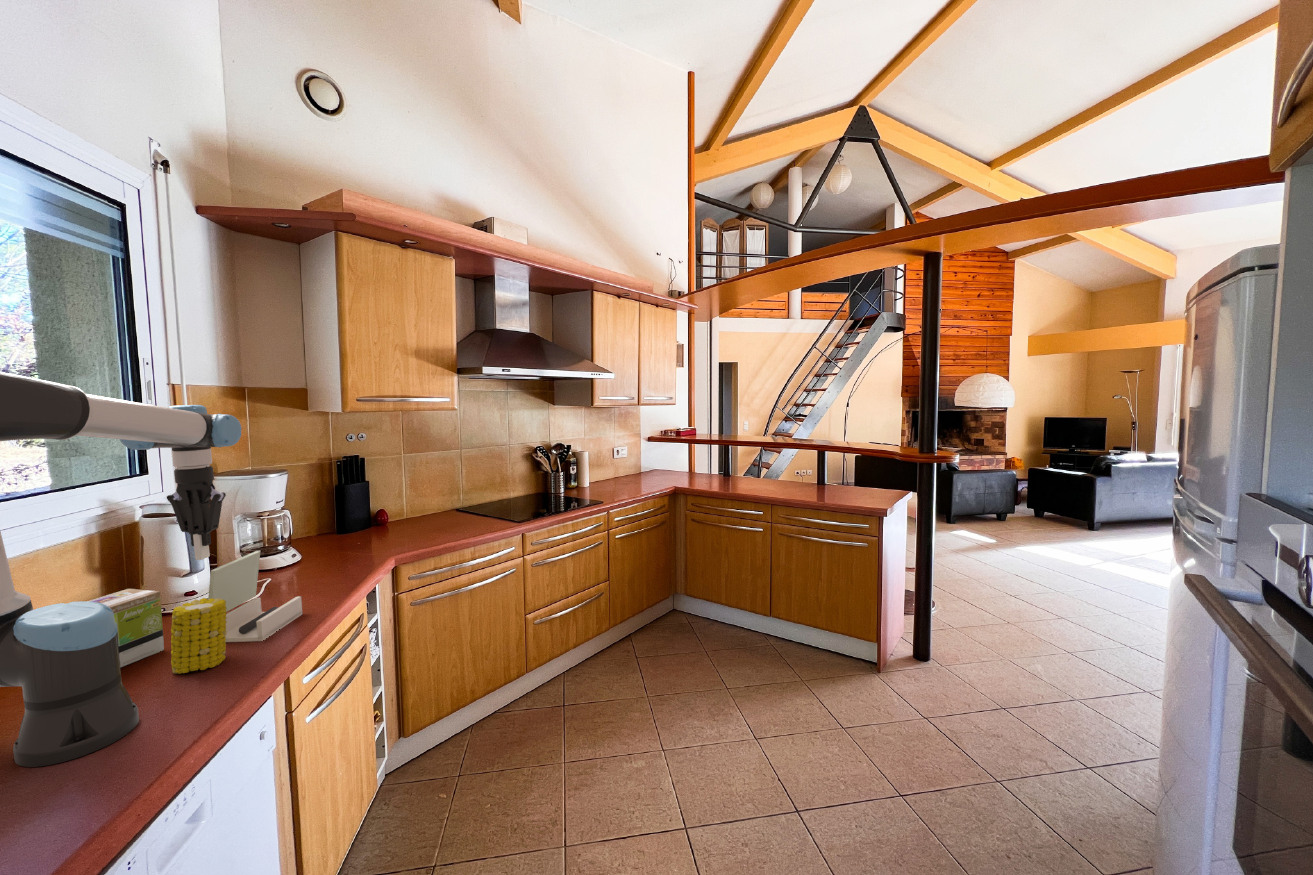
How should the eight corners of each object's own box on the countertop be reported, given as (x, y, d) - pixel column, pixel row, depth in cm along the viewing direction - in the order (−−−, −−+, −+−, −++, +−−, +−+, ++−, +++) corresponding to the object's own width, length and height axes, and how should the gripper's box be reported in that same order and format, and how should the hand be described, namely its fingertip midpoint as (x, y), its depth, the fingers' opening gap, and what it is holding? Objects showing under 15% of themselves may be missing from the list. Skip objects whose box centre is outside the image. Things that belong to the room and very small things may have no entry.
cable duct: (262, 640, 133) (261, 621, 133) (212, 642, 133) (210, 622, 133) (302, 614, 149) (301, 596, 149) (257, 615, 149) (255, 597, 148)
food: (162, 681, 118) (211, 661, 128) (201, 676, 115) (248, 655, 125) (148, 612, 119) (198, 597, 128) (186, 605, 115) (234, 590, 125)
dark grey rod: (247, 633, 135) (246, 626, 135) (239, 634, 135) (238, 626, 135) (281, 612, 148) (280, 605, 148) (273, 612, 148) (272, 605, 148)
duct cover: (215, 571, 131) (210, 570, 131) (210, 620, 132) (206, 620, 132) (260, 551, 147) (256, 550, 147) (255, 595, 148) (252, 595, 148)
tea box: (90, 683, 115) (82, 615, 114) (53, 678, 117) (46, 612, 116) (166, 649, 130) (160, 589, 128) (133, 646, 132) (127, 586, 130)
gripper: (231, 463, 141) (239, 552, 143) (179, 464, 140) (188, 554, 143) (208, 468, 134) (217, 562, 136) (153, 469, 133) (163, 563, 135)
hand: (202, 558), depth 139 cm, fingers closed
